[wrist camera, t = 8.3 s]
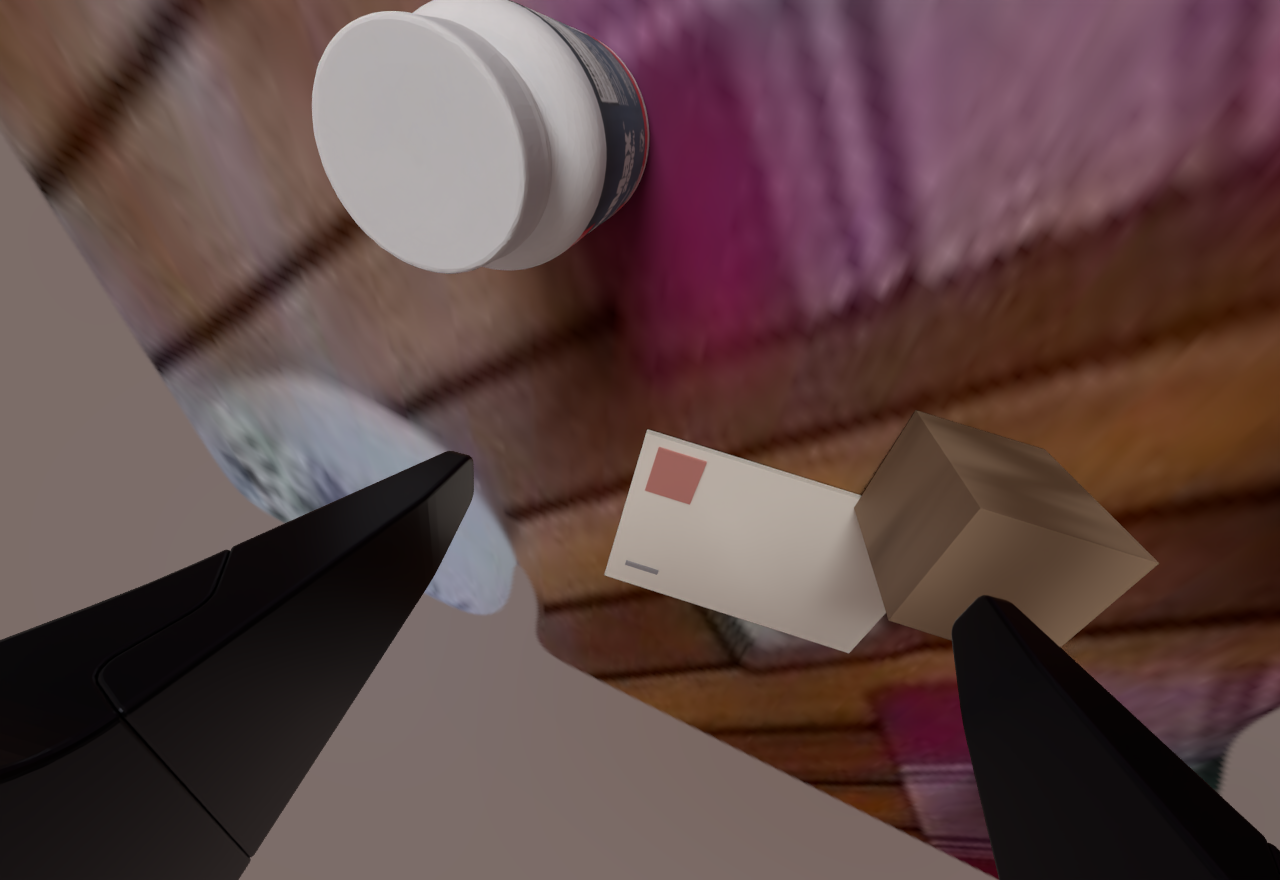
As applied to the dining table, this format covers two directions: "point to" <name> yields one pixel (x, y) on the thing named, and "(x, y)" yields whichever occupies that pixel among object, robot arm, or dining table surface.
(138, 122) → the dining table surface
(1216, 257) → the dining table surface
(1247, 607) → the dining table surface
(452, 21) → the pill bottle
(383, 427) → the dining table surface
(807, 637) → the letter
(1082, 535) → the walnut block
